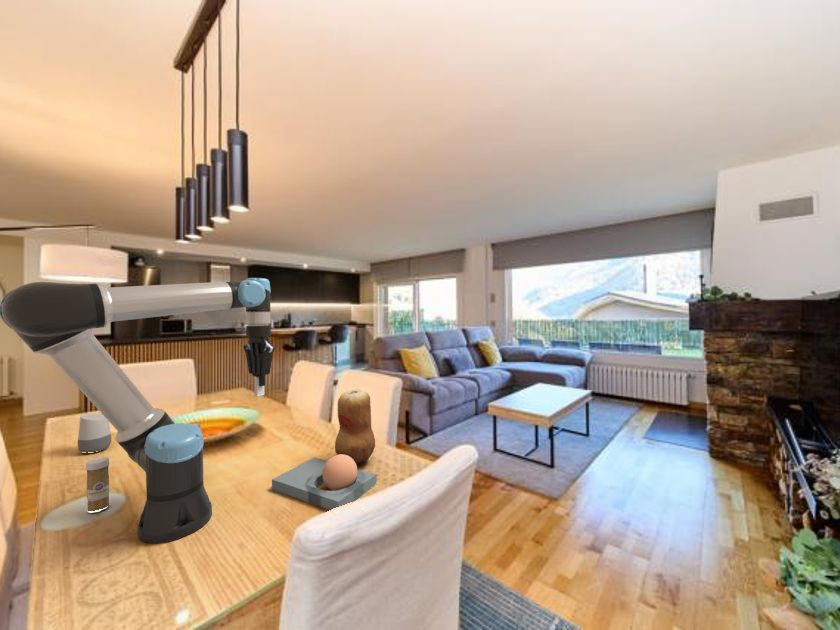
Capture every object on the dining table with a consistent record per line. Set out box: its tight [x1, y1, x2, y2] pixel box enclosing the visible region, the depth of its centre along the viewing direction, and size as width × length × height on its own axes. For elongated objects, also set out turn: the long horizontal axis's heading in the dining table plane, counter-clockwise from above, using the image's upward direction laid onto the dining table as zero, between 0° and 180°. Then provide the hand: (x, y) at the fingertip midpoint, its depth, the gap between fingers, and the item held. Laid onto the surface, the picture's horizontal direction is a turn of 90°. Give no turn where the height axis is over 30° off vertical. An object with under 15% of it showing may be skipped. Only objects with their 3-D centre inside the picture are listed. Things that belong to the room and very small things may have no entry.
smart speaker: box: [77, 413, 112, 453], centre depth 132 cm, size 10×9×14 cm
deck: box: [271, 457, 378, 511], centre depth 105 cm, size 26×17×3 cm, turn 62°
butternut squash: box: [334, 388, 376, 465], centre depth 121 cm, size 14×13×25 cm
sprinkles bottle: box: [85, 456, 110, 511], centre depth 93 cm, size 5×5×14 cm
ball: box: [323, 454, 358, 491], centre depth 103 cm, size 10×10×10 cm
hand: (259, 395), depth 117 cm, fingers closed
